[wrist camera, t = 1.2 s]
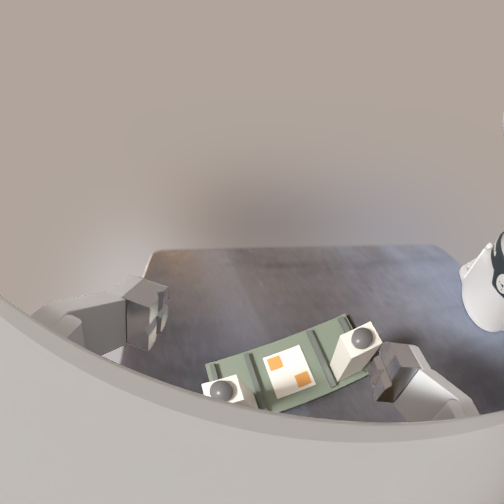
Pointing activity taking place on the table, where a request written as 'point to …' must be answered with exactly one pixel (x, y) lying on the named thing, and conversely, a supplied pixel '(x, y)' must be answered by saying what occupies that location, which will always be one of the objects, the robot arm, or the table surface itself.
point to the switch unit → (290, 367)
